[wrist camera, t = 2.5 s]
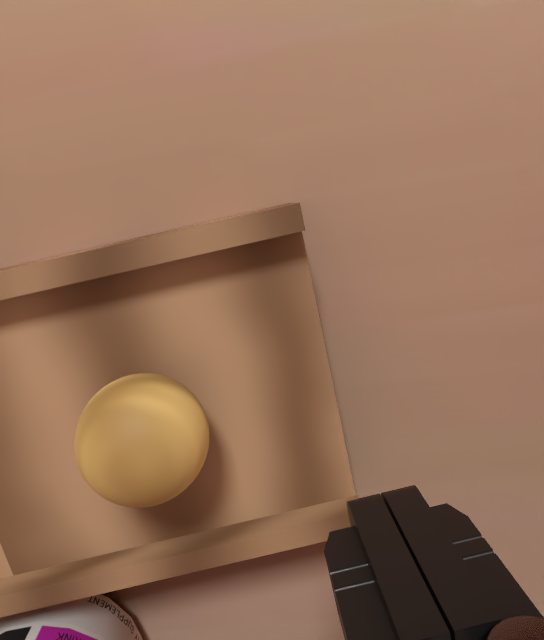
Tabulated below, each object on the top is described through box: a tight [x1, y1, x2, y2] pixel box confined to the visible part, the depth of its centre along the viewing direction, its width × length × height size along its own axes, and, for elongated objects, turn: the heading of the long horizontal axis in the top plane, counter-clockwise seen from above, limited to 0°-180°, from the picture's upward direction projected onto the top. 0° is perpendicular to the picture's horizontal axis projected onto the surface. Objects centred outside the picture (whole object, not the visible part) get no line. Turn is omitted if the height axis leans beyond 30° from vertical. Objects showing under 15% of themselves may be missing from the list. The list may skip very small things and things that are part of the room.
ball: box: [74, 373, 209, 508], centre depth 18 cm, size 5×5×5 cm
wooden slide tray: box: [0, 203, 357, 618], centre depth 21 cm, size 26×14×4 cm, turn 103°
